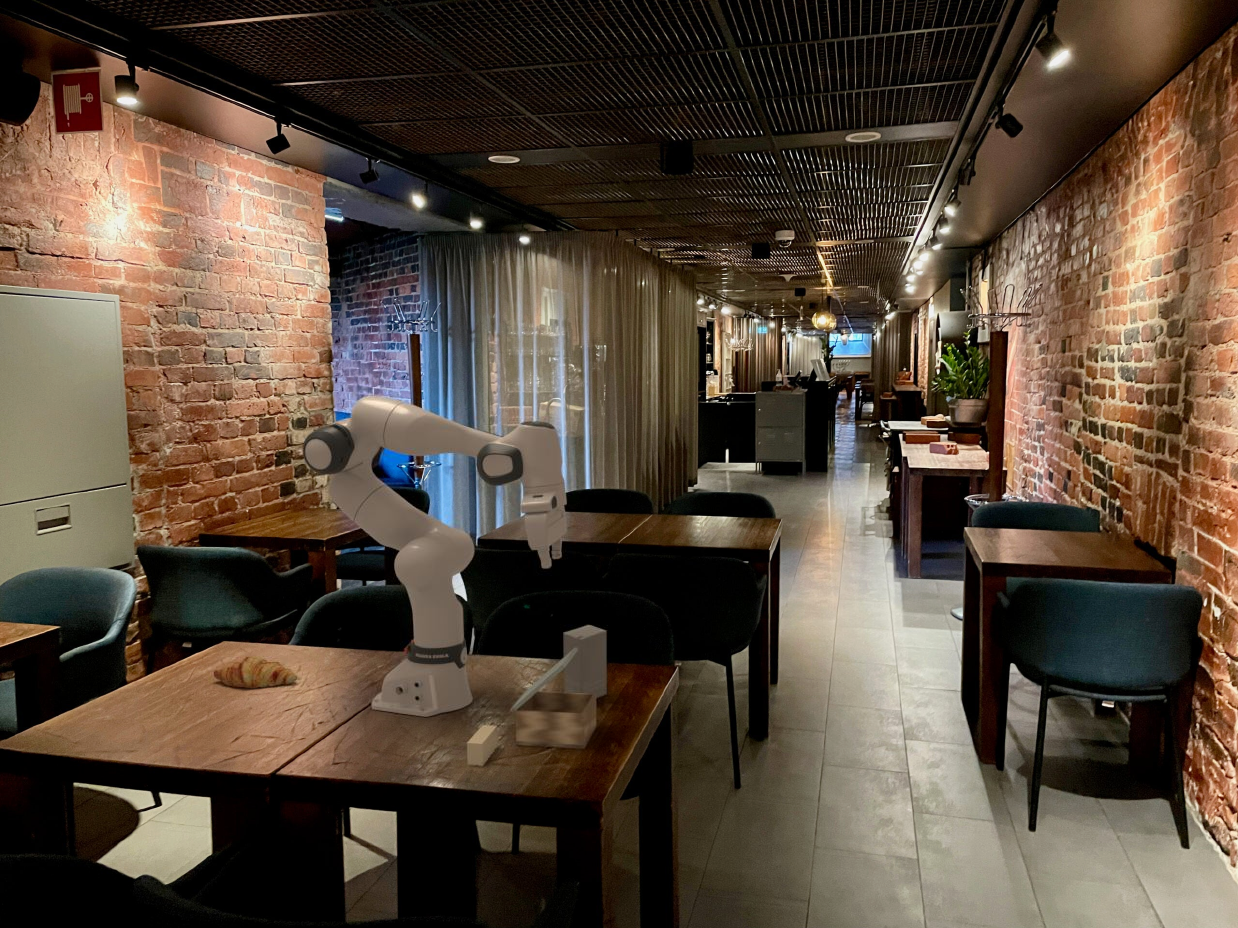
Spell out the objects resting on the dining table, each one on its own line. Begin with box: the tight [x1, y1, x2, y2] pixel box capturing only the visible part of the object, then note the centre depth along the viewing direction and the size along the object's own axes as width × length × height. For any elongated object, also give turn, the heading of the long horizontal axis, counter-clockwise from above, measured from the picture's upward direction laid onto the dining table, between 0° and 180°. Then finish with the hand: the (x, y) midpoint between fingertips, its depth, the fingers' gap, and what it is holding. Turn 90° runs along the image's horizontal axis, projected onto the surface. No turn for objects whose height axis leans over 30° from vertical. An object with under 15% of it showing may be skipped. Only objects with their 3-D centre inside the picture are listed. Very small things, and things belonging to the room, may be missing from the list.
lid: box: [509, 647, 578, 714], centre depth 188 cm, size 15×12×1 cm
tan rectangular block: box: [466, 724, 498, 767], centre depth 179 cm, size 3×9×4 cm, turn 170°
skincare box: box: [563, 624, 608, 699], centre depth 211 cm, size 8×7×16 cm
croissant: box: [213, 656, 298, 689], centre depth 224 cm, size 21×10×8 cm, turn 86°
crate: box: [514, 690, 598, 750], centre depth 189 cm, size 14×12×7 cm
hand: (552, 562), depth 194 cm, fingers open, 8 cm apart
